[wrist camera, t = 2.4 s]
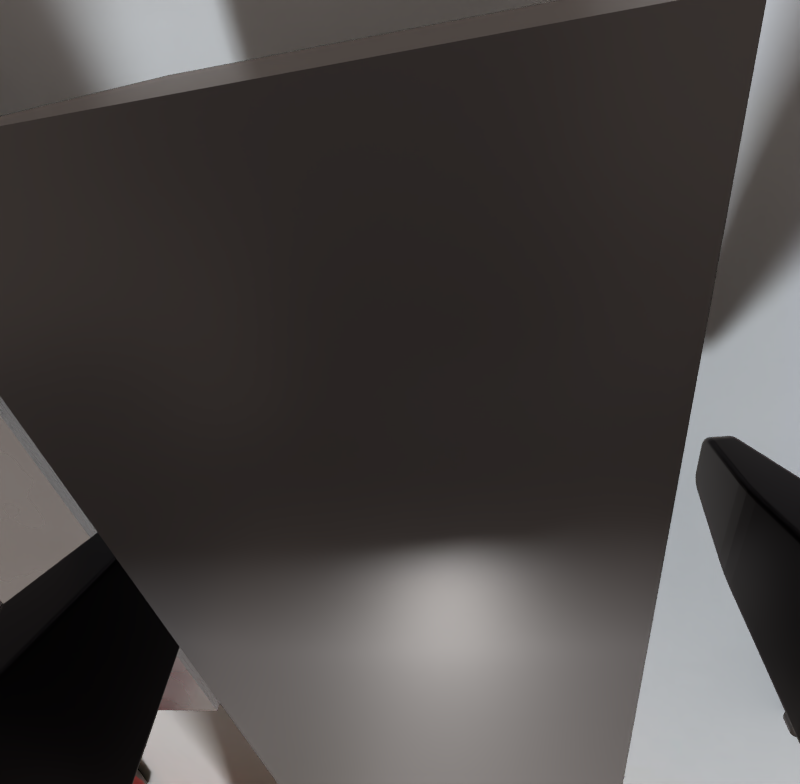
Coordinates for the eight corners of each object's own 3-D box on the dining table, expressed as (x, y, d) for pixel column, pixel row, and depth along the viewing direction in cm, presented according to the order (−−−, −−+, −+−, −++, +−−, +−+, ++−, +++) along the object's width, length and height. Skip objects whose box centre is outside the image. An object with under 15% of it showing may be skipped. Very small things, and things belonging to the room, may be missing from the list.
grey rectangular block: (224, 61, 7) (-170, 158, 3) (551, -2, 7) (769, -17, 2) (386, 609, 15) (354, 890, 10) (552, 606, 14) (600, 908, 9)
